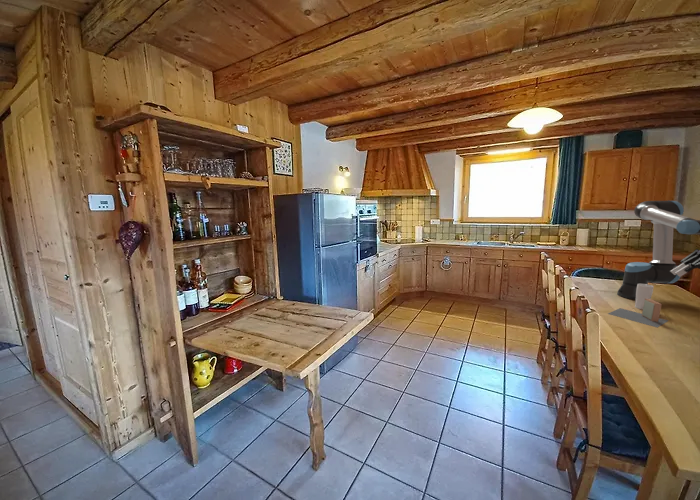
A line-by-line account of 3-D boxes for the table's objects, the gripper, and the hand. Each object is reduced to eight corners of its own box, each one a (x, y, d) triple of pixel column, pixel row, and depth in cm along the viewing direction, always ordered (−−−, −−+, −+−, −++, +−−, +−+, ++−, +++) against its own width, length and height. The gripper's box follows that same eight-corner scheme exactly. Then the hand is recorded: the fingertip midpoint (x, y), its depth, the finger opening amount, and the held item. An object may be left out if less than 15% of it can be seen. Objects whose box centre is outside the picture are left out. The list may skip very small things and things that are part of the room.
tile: (647, 315, 156) (650, 298, 154) (658, 321, 149) (661, 304, 147) (641, 315, 157) (644, 298, 155) (651, 321, 150) (654, 303, 148)
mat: (619, 309, 167) (620, 308, 167) (668, 321, 150) (668, 320, 150) (607, 314, 160) (607, 313, 159) (657, 328, 142) (657, 327, 142)
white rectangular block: (641, 307, 170) (646, 283, 168) (652, 311, 164) (657, 287, 161) (629, 306, 171) (634, 283, 168) (639, 311, 164) (644, 286, 162)
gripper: (746, 252, 132) (693, 283, 140) (715, 247, 147) (668, 275, 155) (733, 241, 133) (681, 272, 141) (704, 236, 148) (658, 265, 156)
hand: (674, 273), depth 148 cm, fingers open, 3 cm apart
